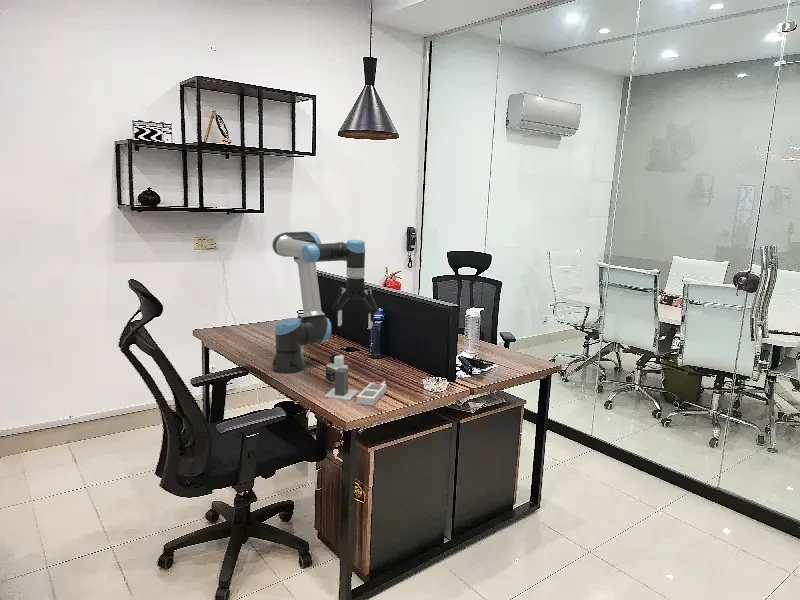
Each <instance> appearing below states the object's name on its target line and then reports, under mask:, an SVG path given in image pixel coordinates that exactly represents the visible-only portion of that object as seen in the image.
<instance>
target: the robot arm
mask: <svg viewBox="0 0 800 600" xmlns="http://www.w3.org/2000/svg"><path fill="white" fill-rule="evenodd" d="M365 243H366V242H365V241H364V240H362V239H348V240H347V241H346V242H343V241H339V242H338V241H337V242H333V243H332V242H331V243H328V242H327V243H322V241H321V239H320V237H319V235H318V234H317V233H315V232H314V231H313V232H312V231H290V232H289V231H286V232H281V233H279V234H278V235H276V236H275V237H274V238H273V240H272V249H273V252H274V253H275V254H276V255H278V256H280V257H289V258H290V257H291V258H292V257H293V262H295V263H296V264H297V269H298V277H299V285H300V293H301V303H302V304H301V305H302V312H303V314H301V316H300V318H298V317H287V318H284V319H280V320H279V321H278V322H276V325H275V331H274V335H275V354H274V357H273V361H272V364H271V369H272V370H273V371H274V372H277V373H281V374H292V373H299V372H301V371H304V369H305V368H306V362H305V360H304V357H303V354H302V346H306V345H312V344H320V343H324V342H328V341H329V339H330V337H331V334H332V322H331V320H330V319H329V318H328V317H326V314H325V312H323V311H322V305H321V304H322V303H321V296H320V288H319V281H318V273H317V263H320V262H321V263H322V262H337V261H338V262H340V261H341V262H342V261H344V262H346V285H345V286H346V287H345V288H344V287H343V286H342V287H340V288H339V289H338V293H337V296H336V298H335V299H334V301H333V304H332V306H331V309H332V310H335V318H336V319H337V326H338V327H341V326H343V310H342V308H343V306H345V304H347V302H348V300H356V301H358V300H360V302H362V304H363V305H364V306H365V308H366V309H367V310H368V311H369V313H368V327H367V328H368V330H370V329H372V328H373V322H374V320H375V314H376V313H378V312H379V310H380V309H379V306H378V304H377V303H376V300H375V298H374V296H373V290H372V289H371V288H370V289H365V278H364V277H365V272H366V271H365V267H366V266H365V265H366V262H365V261H366V246H365ZM344 293H346V296H345V297H344V299H343V300H342V301H341V302H340V300H341V298H342V297H343V296H344V295H343V294H344ZM365 295H367V298H368V300H369V301H368V300H367V298H366V296H365ZM369 302H370V303H369Z"/></svg>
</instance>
